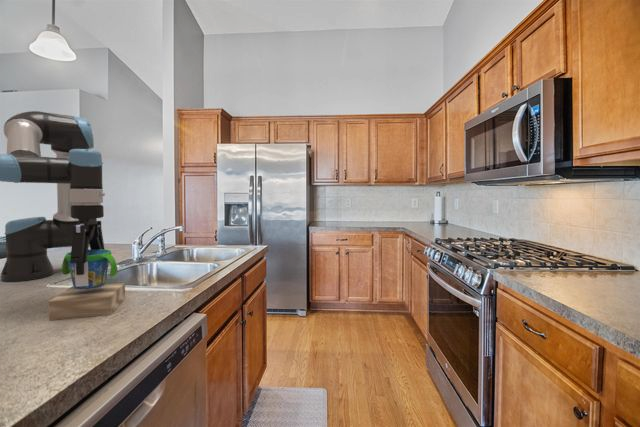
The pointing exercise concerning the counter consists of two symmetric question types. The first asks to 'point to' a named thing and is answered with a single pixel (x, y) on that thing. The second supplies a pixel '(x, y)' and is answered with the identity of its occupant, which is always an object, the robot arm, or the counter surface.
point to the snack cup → (92, 267)
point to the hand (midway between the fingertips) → (90, 280)
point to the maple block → (87, 302)
